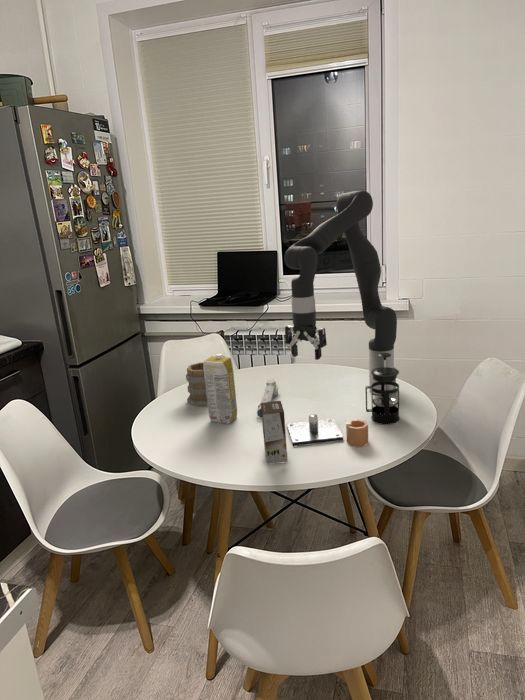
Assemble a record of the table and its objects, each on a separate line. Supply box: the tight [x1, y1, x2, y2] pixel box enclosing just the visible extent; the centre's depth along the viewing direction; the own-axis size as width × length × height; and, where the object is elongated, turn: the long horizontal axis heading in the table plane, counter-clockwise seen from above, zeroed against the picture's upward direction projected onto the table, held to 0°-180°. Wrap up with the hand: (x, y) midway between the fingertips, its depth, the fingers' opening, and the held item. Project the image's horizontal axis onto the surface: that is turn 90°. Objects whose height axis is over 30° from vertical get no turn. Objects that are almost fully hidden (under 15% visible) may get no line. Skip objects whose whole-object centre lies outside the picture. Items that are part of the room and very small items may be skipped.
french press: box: [364, 353, 401, 425], centre depth 173 cm, size 12×9×23 cm
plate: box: [286, 413, 344, 447], centre depth 168 cm, size 16×14×6 cm
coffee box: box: [261, 400, 288, 465], centre depth 155 cm, size 9×6×16 cm
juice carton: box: [202, 353, 238, 425], centre depth 182 cm, size 9×8×24 cm
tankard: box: [185, 355, 225, 407], centre depth 205 cm, size 20×13×15 cm, turn 129°
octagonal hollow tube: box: [345, 419, 369, 448], centre depth 161 cm, size 6×6×7 cm
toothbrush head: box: [256, 378, 280, 418], centre depth 196 cm, size 5×7×25 cm
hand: (306, 357), depth 171 cm, fingers open, 8 cm apart
